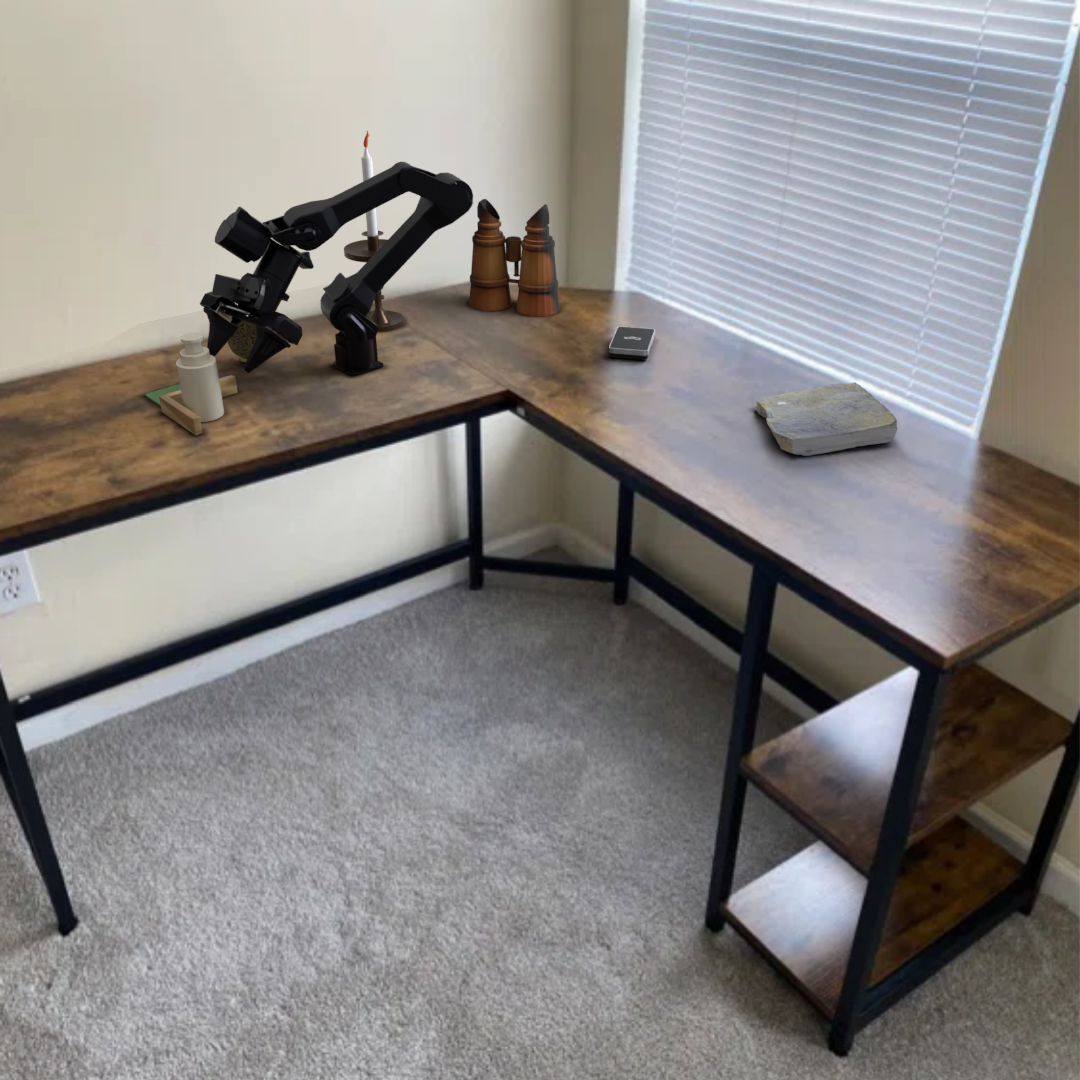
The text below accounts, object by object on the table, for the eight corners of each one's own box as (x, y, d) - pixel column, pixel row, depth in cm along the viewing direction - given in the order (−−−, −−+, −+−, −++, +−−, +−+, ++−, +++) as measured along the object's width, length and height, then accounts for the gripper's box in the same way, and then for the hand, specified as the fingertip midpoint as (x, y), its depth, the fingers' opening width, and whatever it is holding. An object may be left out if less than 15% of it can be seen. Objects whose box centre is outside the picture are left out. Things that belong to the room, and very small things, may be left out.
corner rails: (234, 390, 185) (231, 374, 184) (269, 411, 178) (267, 395, 177) (161, 412, 178) (158, 396, 176) (195, 435, 171) (192, 419, 169)
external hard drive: (654, 339, 205) (655, 328, 204) (647, 362, 196) (647, 351, 195) (617, 336, 206) (617, 326, 205) (608, 358, 197) (608, 348, 196)
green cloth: (211, 376, 190) (211, 374, 190) (229, 387, 186) (228, 385, 186) (144, 396, 183) (144, 394, 183) (161, 407, 179) (161, 405, 179)
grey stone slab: (736, 416, 179) (781, 458, 164) (739, 389, 176) (785, 429, 161) (851, 408, 183) (905, 448, 168) (855, 381, 181) (910, 419, 166)
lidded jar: (212, 403, 181) (200, 326, 174) (231, 414, 177) (219, 336, 170) (178, 413, 177) (164, 335, 171) (196, 425, 174) (182, 346, 167)
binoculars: (462, 308, 219) (458, 204, 209) (477, 294, 226) (474, 193, 215) (552, 318, 214) (552, 213, 204) (565, 304, 221) (566, 201, 210)
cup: (261, 372, 191) (255, 328, 187) (221, 369, 193) (214, 324, 189) (278, 356, 198) (273, 313, 194) (239, 353, 199) (233, 310, 195)
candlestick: (420, 322, 212) (409, 129, 194) (377, 337, 205) (361, 139, 187) (381, 309, 218) (367, 120, 200) (338, 324, 211) (319, 130, 193)
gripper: (199, 241, 177) (153, 328, 176) (278, 263, 168) (231, 355, 166) (245, 277, 187) (202, 359, 185) (323, 300, 177) (278, 387, 175)
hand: (226, 364), depth 178 cm, fingers open, 9 cm apart
